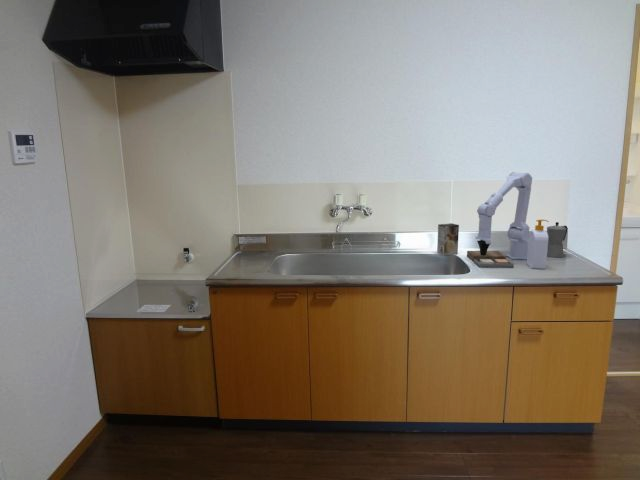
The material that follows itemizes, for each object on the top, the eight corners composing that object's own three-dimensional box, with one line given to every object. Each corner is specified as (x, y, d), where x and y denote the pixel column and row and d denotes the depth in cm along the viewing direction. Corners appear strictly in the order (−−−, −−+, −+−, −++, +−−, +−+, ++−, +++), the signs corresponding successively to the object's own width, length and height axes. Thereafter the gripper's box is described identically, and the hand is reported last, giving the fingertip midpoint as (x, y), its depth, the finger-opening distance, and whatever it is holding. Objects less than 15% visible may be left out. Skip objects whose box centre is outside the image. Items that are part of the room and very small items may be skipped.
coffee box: (450, 251, 255) (452, 223, 252) (457, 254, 249) (459, 224, 246) (436, 253, 251) (437, 224, 248) (443, 255, 246) (445, 226, 242)
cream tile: (493, 261, 222) (493, 265, 223) (490, 259, 227) (489, 263, 228) (482, 261, 223) (482, 265, 223) (479, 259, 227) (479, 262, 228)
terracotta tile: (508, 261, 222) (508, 265, 222) (504, 259, 227) (504, 263, 227) (497, 261, 222) (497, 265, 223) (494, 259, 227) (494, 263, 227)
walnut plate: (497, 256, 243) (498, 250, 243) (505, 262, 231) (506, 256, 231) (466, 256, 244) (467, 250, 243) (473, 262, 232) (473, 256, 232)
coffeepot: (553, 259, 237) (557, 224, 233) (537, 255, 245) (540, 221, 242) (572, 255, 244) (576, 222, 240) (556, 252, 252) (559, 219, 249)
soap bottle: (547, 269, 218) (552, 221, 214) (531, 268, 219) (536, 221, 215) (541, 264, 227) (545, 218, 222) (526, 263, 228) (530, 218, 223)
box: (506, 262, 231) (506, 259, 230) (513, 267, 221) (513, 264, 220) (473, 262, 231) (473, 258, 231) (479, 267, 222) (479, 264, 221)
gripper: (472, 225, 235) (471, 251, 238) (480, 231, 221) (479, 258, 224) (486, 225, 235) (484, 251, 238) (495, 231, 221) (493, 258, 223)
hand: (483, 255), depth 231 cm, fingers closed
